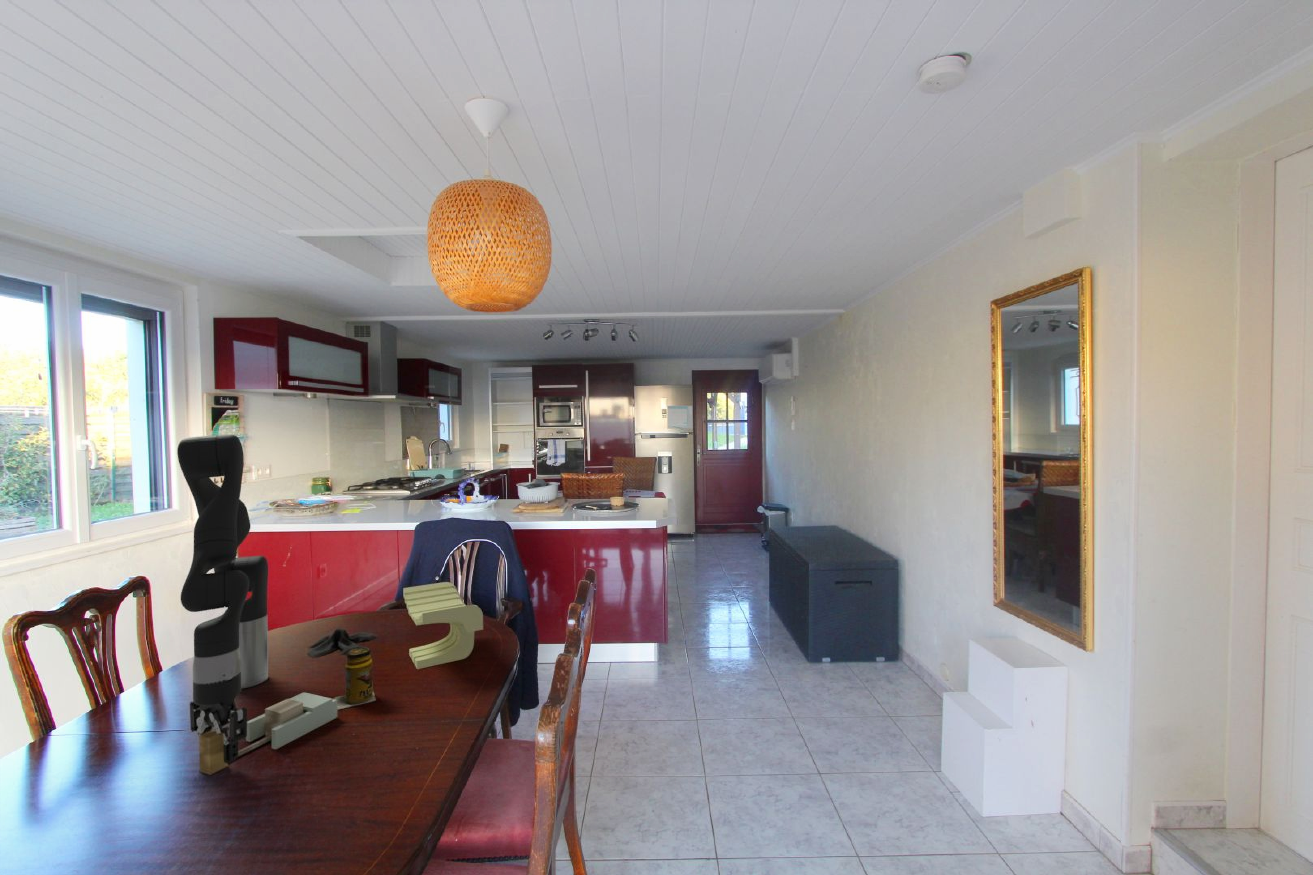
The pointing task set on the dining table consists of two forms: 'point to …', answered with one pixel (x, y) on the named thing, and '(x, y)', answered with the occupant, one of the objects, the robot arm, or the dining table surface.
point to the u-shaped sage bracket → (296, 720)
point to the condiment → (357, 679)
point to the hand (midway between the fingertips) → (218, 756)
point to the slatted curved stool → (442, 608)
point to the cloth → (339, 642)
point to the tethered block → (214, 751)
